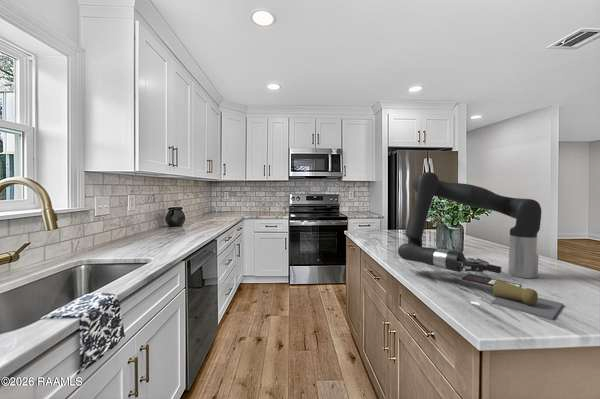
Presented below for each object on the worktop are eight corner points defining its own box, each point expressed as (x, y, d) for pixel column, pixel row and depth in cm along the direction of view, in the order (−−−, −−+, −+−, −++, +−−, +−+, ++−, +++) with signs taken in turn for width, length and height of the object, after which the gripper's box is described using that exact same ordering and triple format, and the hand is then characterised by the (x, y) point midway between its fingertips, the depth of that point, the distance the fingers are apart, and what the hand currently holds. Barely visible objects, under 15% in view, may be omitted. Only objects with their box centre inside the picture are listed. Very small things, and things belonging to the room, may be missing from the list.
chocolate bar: (469, 273, 122) (520, 284, 108) (469, 275, 122) (520, 286, 109) (461, 278, 116) (515, 290, 103) (461, 280, 116) (515, 292, 103)
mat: (491, 303, 92) (491, 301, 92) (507, 291, 102) (507, 290, 102) (552, 320, 80) (552, 317, 80) (562, 305, 90) (562, 303, 90)
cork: (500, 296, 99) (539, 307, 89) (492, 297, 96) (531, 308, 86) (501, 279, 99) (540, 288, 90) (493, 279, 96) (533, 289, 86)
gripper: (441, 252, 106) (494, 262, 92) (456, 248, 114) (507, 256, 101) (440, 272, 106) (493, 285, 93) (455, 266, 114) (506, 277, 101)
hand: (500, 270), depth 97 cm, fingers closed
